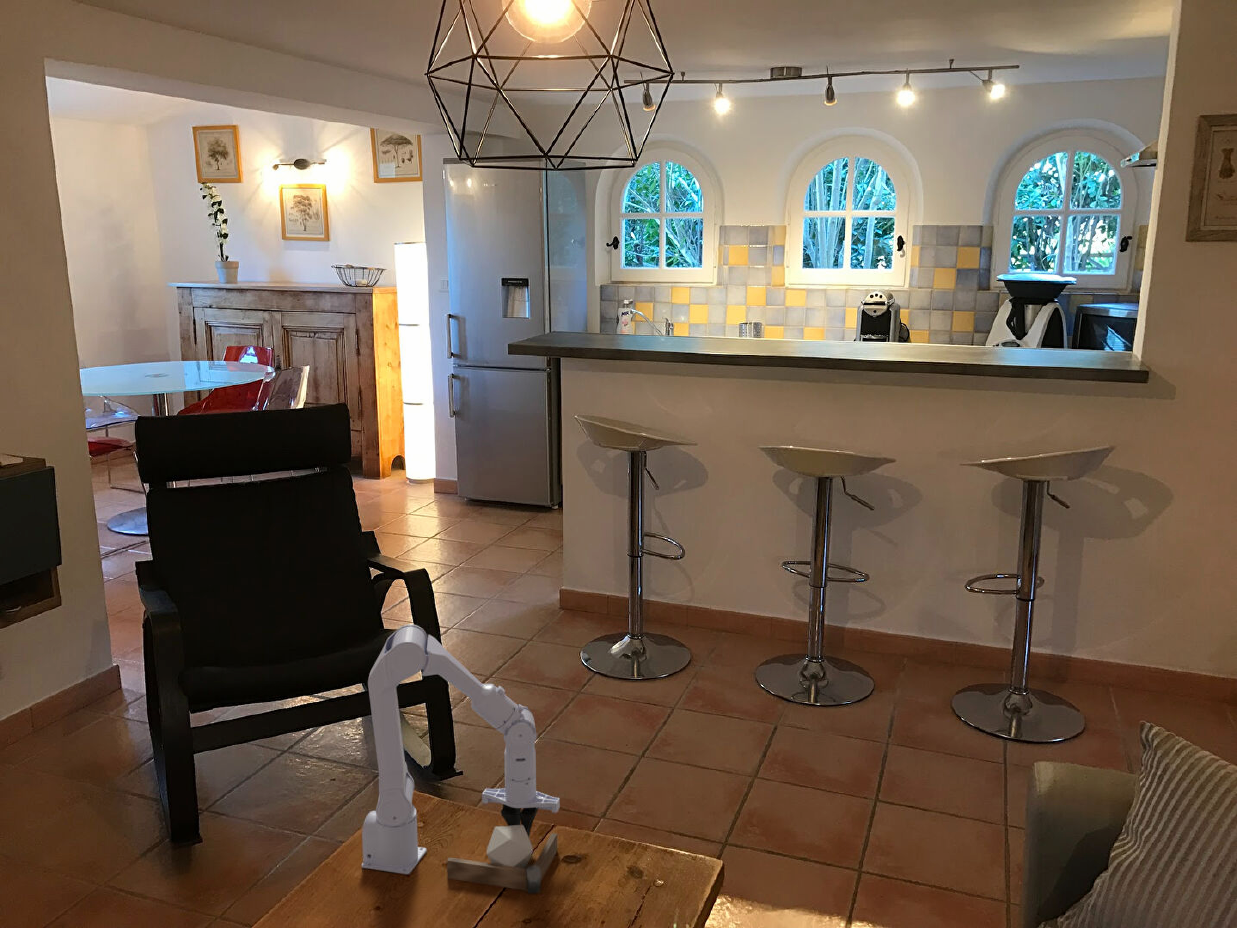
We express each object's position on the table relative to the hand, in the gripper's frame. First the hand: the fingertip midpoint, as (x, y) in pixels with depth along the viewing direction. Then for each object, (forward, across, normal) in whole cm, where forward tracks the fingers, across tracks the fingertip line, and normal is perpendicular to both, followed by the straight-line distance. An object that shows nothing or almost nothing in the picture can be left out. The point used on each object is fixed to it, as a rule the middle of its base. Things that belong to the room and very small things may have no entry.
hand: (521, 840), depth 188 cm
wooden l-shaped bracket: (+2, +1, +5) cm, 6 cm away
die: (+2, 0, +6) cm, 6 cm away
